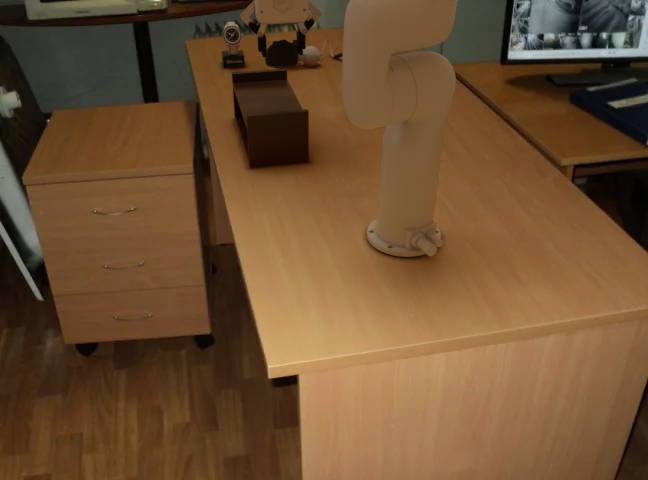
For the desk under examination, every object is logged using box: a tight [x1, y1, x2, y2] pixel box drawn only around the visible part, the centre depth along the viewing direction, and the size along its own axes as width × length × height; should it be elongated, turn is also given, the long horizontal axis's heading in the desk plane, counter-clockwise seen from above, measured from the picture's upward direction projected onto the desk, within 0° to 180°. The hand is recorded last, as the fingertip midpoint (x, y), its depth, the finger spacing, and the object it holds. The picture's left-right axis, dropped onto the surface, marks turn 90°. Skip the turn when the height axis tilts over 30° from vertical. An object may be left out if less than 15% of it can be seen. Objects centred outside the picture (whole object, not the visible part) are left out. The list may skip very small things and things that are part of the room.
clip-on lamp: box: [271, 38, 343, 67], centre depth 195 cm, size 12×6×18 cm
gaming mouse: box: [264, 38, 299, 69], centre depth 145 cm, size 6×15×4 cm, turn 177°
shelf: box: [231, 68, 310, 169], centre depth 153 cm, size 24×12×11 cm, turn 13°
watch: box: [221, 21, 246, 69], centre depth 190 cm, size 6×8×11 cm
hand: (282, 53), depth 146 cm, fingers closed on gaming mouse, 6 cm apart
